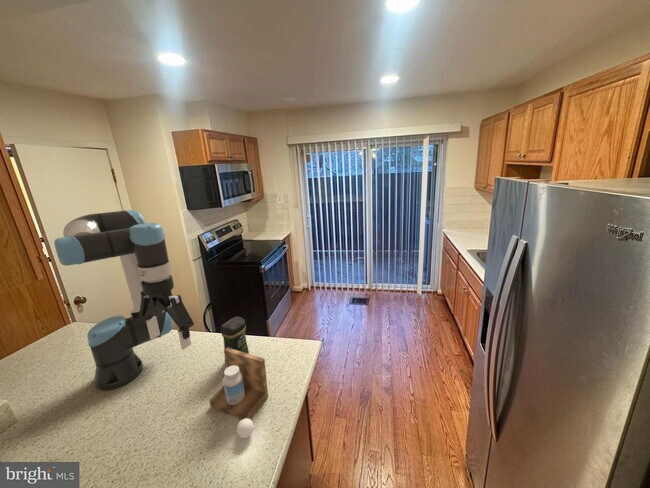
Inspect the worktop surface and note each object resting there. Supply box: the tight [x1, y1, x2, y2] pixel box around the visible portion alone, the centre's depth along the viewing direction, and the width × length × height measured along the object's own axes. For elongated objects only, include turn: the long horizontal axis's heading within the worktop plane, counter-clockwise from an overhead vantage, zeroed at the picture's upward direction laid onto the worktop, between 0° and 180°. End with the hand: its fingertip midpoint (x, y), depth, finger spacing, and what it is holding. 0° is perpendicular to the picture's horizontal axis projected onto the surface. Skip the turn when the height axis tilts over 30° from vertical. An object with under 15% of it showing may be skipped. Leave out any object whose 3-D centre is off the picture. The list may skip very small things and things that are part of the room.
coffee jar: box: [220, 316, 250, 364], centre depth 108 cm, size 10×8×19 cm
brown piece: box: [209, 348, 269, 421], centre depth 88 cm, size 16×11×16 cm, turn 67°
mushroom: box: [236, 418, 255, 439], centre depth 78 cm, size 5×5×5 cm
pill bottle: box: [222, 365, 245, 405], centre depth 86 cm, size 6×6×11 cm
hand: (170, 341), depth 80 cm, fingers open, 13 cm apart
